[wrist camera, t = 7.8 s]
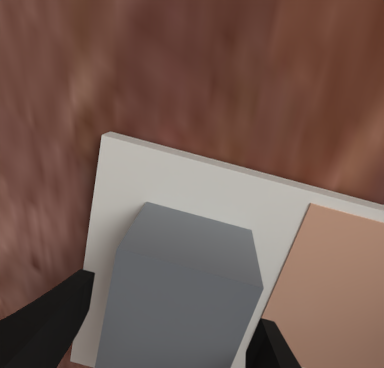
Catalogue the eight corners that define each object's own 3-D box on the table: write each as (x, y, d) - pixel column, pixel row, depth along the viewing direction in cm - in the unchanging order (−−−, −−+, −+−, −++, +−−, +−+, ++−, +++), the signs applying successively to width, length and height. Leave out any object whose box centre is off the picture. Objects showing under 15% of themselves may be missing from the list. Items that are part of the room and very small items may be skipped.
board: (487, 233, 13) (510, 245, 12) (347, 433, 18) (355, 454, 17) (110, 131, 13) (100, 135, 12) (76, 357, 18) (67, 374, 17)
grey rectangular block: (251, 230, 13) (263, 288, 9) (211, 340, 15) (207, 422, 12) (146, 201, 13) (116, 248, 9) (122, 315, 16) (90, 389, 12)
